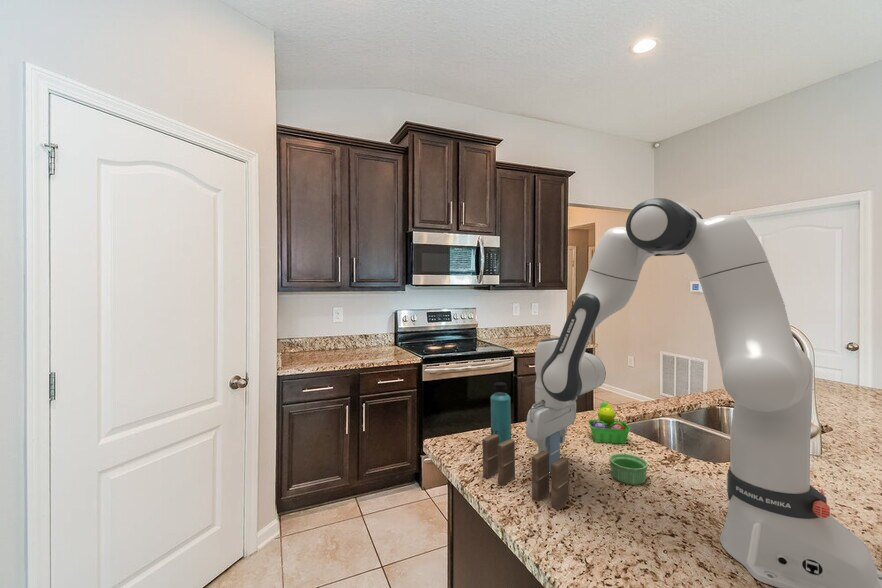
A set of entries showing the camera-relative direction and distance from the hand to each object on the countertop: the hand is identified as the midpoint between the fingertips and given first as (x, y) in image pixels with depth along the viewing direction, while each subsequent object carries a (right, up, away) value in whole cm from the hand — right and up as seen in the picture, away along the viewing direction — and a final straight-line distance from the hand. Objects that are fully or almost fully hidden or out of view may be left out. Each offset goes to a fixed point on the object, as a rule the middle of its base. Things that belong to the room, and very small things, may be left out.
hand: (552, 447), depth 104 cm
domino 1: (-17, -6, -2) cm, 18 cm away
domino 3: (-7, -6, -13) cm, 16 cm away
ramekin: (+18, -6, -5) cm, 20 cm away
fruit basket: (+24, -6, +20) cm, 32 cm away
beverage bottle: (-12, -6, +15) cm, 20 cm away
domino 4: (0, -6, 0) cm, 6 cm away
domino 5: (-3, -6, -17) cm, 18 cm away
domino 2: (-13, -6, -6) cm, 16 cm away
